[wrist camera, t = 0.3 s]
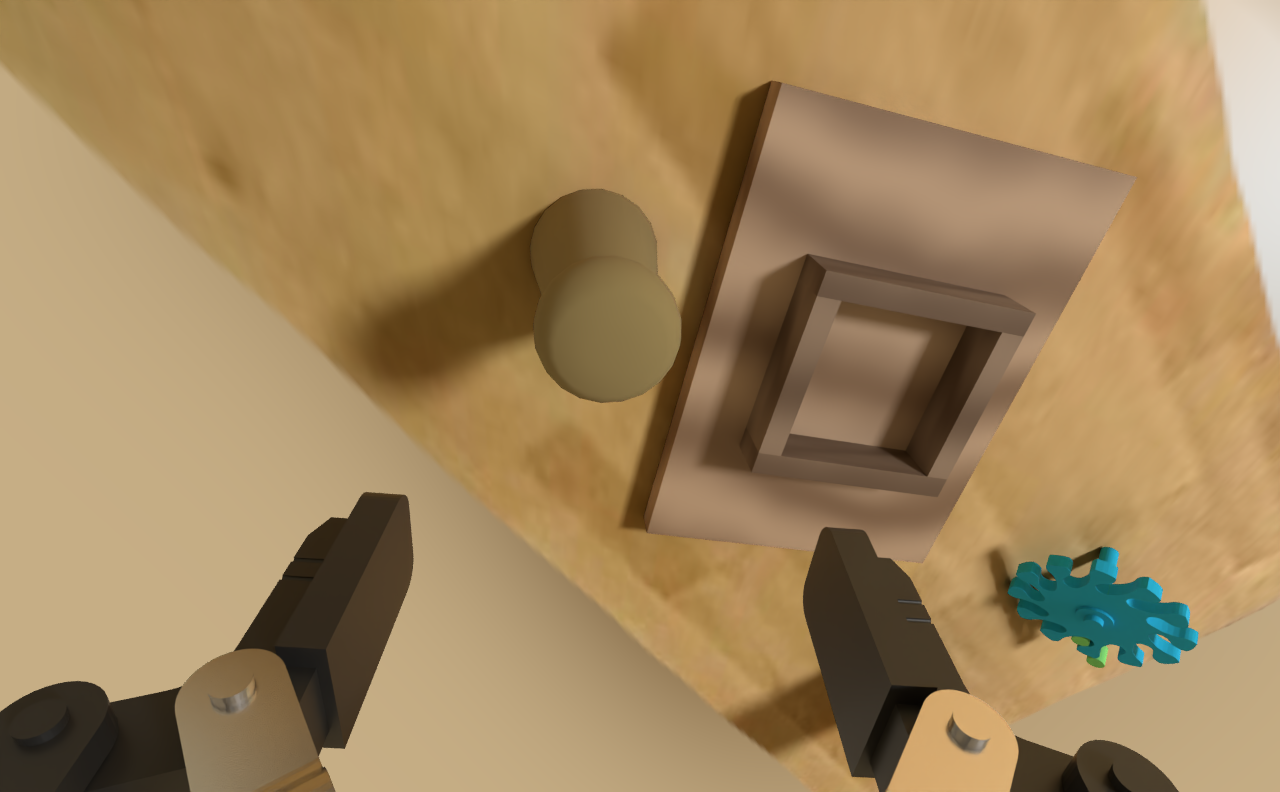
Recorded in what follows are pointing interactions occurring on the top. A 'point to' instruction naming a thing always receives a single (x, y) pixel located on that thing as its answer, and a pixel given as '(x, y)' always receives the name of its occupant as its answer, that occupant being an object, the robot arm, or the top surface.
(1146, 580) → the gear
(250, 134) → the top surface
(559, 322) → the cork
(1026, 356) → the jig board
